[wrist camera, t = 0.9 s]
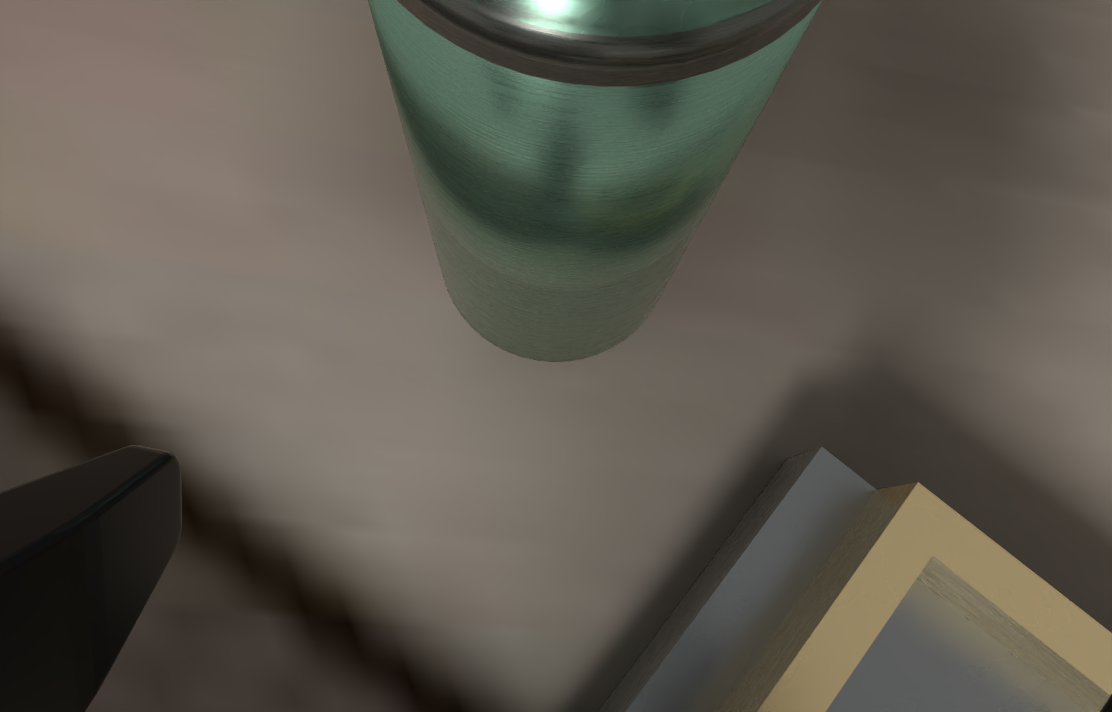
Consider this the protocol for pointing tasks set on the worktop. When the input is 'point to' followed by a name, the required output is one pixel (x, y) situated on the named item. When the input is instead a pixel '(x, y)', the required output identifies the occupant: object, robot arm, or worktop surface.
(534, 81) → the spout can
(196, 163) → the worktop surface
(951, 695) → the grey tray base
